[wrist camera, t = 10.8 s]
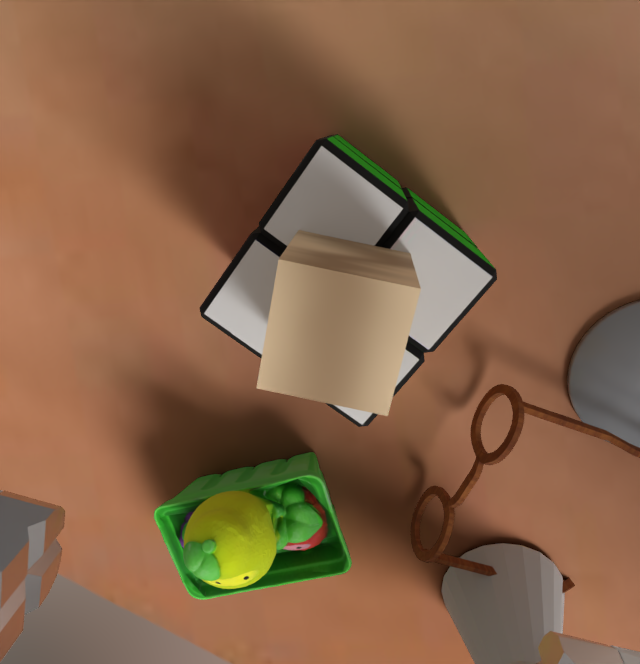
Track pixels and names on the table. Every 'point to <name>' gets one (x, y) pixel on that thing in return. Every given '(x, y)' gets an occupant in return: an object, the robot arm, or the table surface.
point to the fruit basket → (254, 529)
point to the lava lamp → (505, 603)
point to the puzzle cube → (359, 226)
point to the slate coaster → (609, 374)
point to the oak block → (339, 322)
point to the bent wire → (490, 459)
